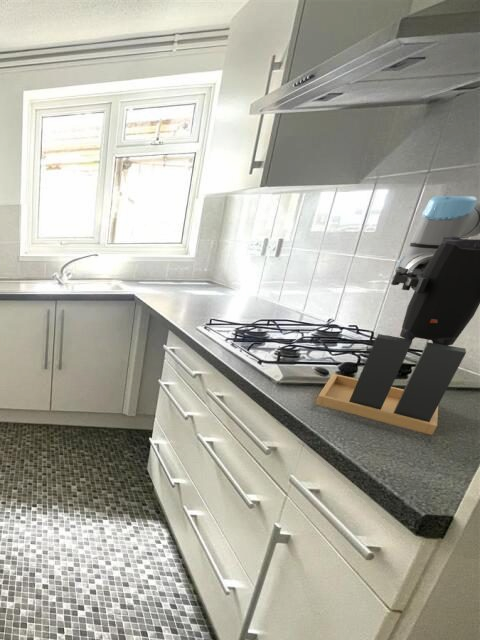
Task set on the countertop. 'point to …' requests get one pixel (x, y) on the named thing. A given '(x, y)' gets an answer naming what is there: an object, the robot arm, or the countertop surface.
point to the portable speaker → (446, 293)
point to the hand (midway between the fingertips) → (458, 289)
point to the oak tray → (339, 396)
